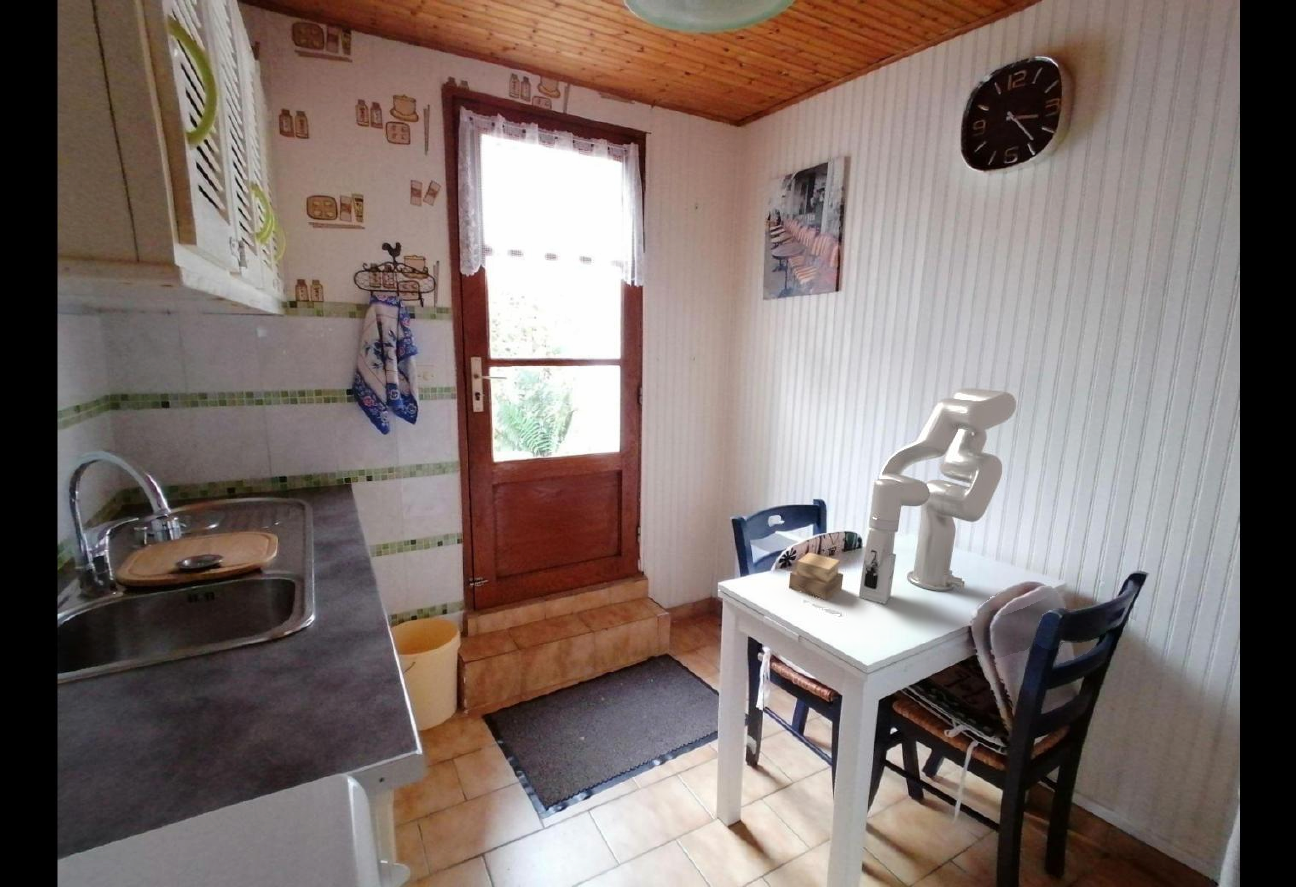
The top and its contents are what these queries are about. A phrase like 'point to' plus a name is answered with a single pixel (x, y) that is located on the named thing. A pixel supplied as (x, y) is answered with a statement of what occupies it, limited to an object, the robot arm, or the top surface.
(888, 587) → the supplement box
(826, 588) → the tower base
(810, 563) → the tower top
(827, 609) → the butter knife
